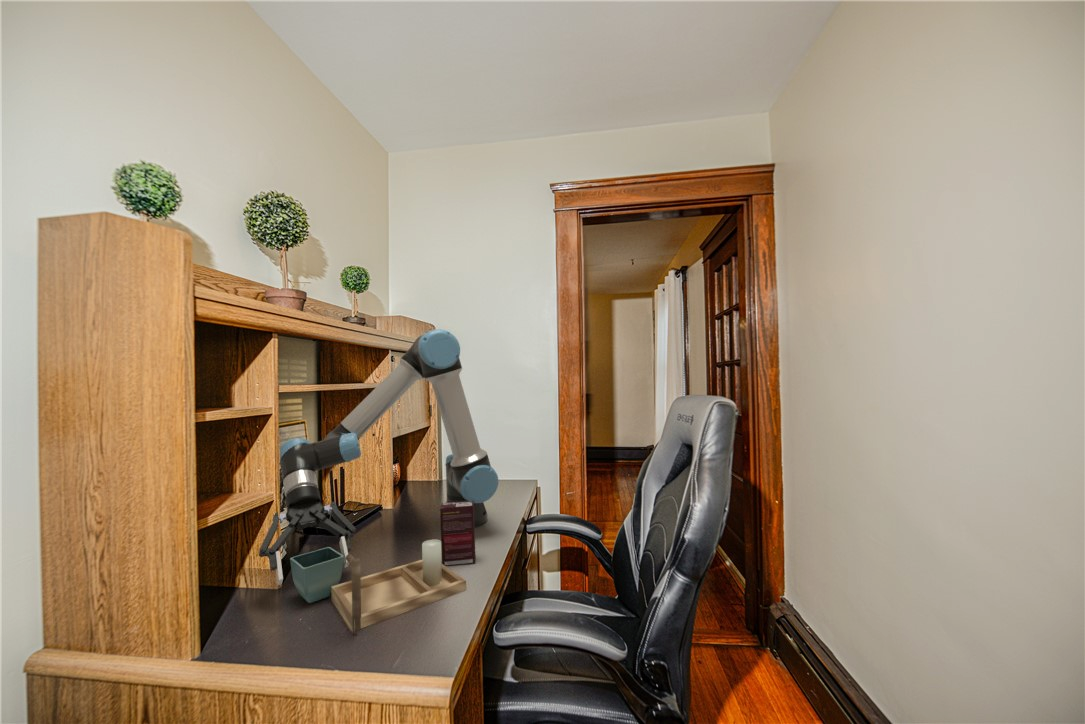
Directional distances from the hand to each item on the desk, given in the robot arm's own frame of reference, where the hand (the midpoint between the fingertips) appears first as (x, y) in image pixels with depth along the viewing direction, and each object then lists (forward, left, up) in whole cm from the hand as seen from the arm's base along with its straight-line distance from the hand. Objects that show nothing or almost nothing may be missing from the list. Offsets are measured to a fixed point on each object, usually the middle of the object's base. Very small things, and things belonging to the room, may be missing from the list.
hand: (315, 573), depth 100 cm
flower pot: (-1, -1, -6) cm, 6 cm away
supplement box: (-33, +6, -6) cm, 34 cm away
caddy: (-15, +12, -6) cm, 20 cm away
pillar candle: (-23, +12, -5) cm, 26 cm away
